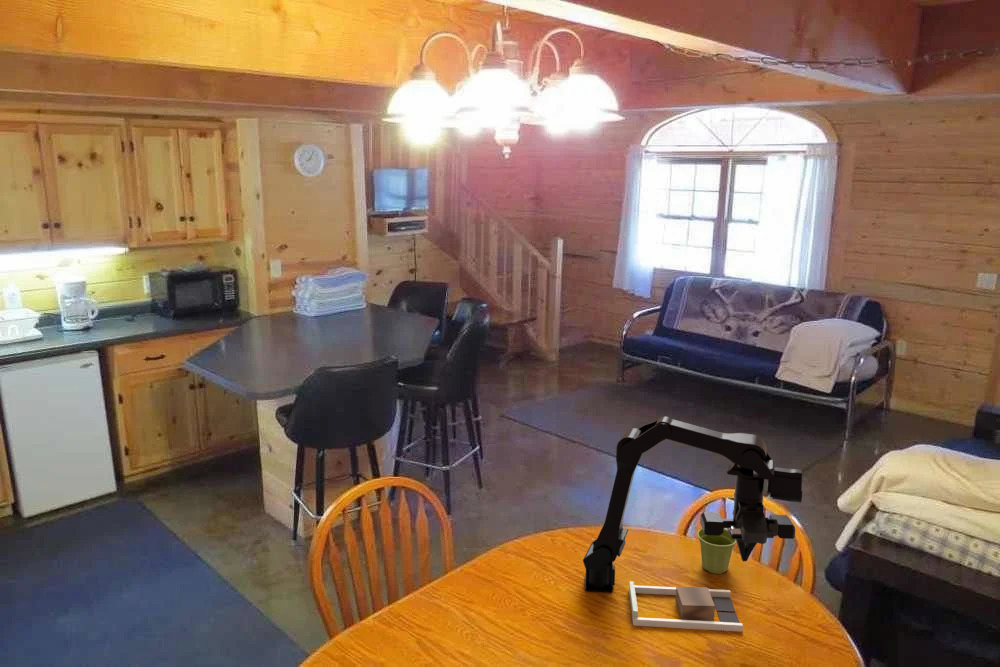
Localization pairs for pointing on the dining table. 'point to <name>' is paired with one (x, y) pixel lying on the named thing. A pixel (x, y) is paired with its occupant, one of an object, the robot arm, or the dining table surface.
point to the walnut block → (695, 603)
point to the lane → (674, 622)
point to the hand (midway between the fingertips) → (744, 560)
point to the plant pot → (716, 551)
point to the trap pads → (725, 609)
